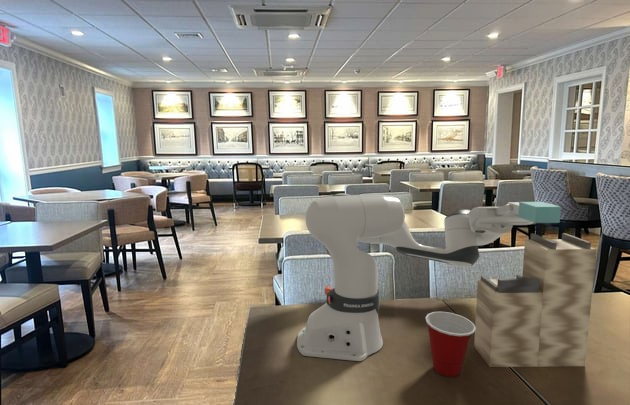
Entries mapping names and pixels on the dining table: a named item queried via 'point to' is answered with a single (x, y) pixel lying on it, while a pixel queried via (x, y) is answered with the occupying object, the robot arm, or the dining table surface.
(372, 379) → the dining table surface
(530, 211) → the plug
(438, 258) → the robot arm
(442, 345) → the plastic cup
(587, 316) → the zigzag stepped block
